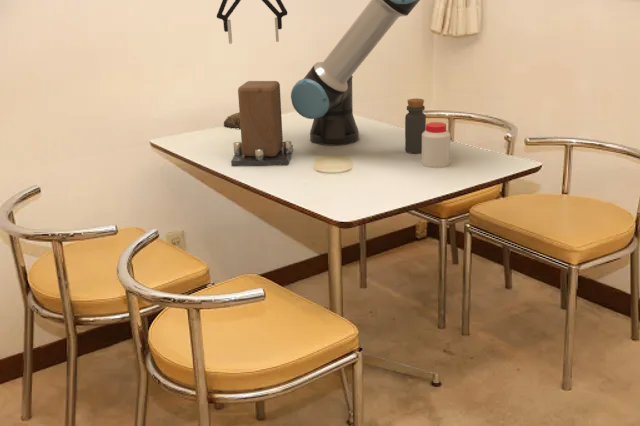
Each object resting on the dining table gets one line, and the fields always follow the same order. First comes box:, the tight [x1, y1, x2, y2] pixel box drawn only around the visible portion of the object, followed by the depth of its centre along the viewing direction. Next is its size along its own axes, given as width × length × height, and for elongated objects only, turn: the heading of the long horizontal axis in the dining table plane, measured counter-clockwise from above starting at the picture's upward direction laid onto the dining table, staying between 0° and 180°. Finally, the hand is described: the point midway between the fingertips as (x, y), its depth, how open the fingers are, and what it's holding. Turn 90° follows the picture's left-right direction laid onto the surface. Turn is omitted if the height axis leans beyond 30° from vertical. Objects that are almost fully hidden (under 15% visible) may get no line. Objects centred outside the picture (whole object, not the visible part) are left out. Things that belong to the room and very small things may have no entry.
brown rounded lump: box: [223, 112, 241, 130], centre depth 263 cm, size 13×12×5 cm
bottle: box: [404, 98, 427, 155], centre depth 224 cm, size 6×6×15 cm
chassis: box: [230, 140, 294, 167], centre depth 225 cm, size 17×17×4 cm
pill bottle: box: [420, 121, 451, 169], centre depth 213 cm, size 8×8×11 cm
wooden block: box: [237, 80, 284, 157], centre depth 222 cm, size 10×10×20 cm
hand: (254, 42), depth 227 cm, fingers open, 13 cm apart
